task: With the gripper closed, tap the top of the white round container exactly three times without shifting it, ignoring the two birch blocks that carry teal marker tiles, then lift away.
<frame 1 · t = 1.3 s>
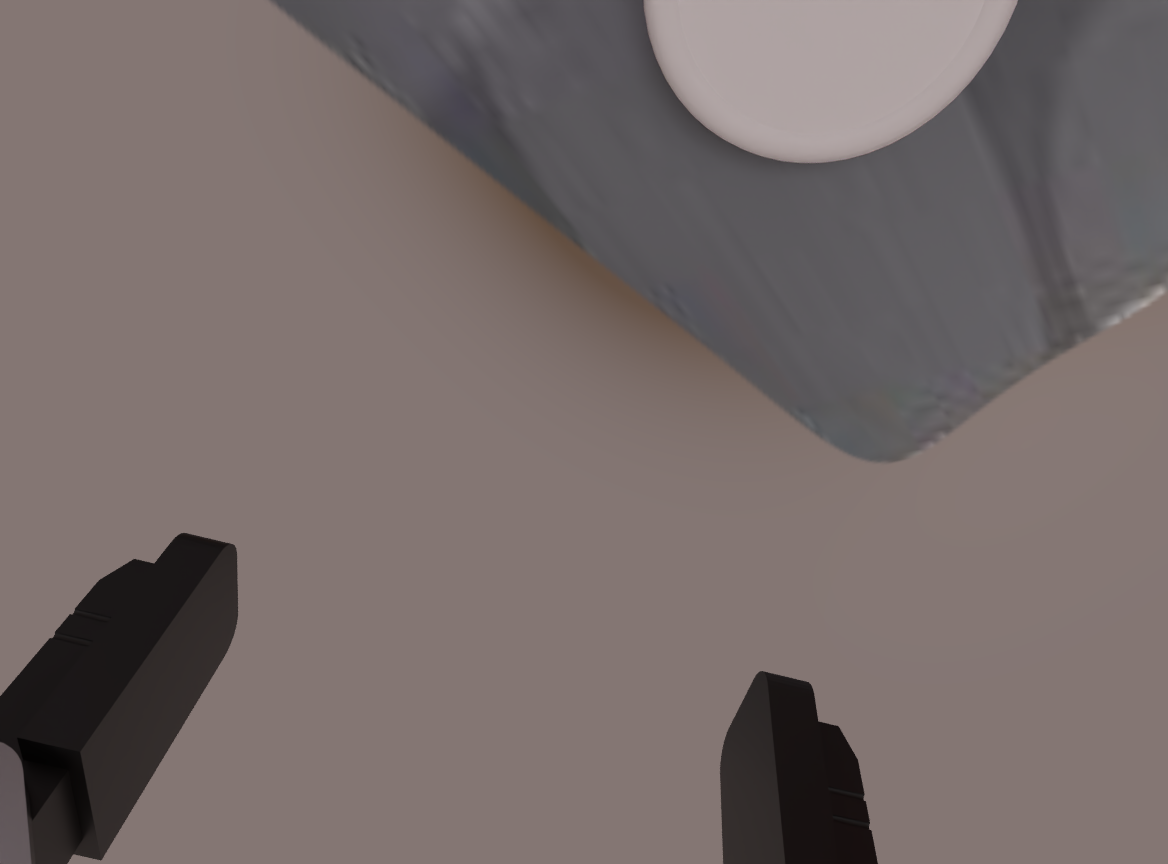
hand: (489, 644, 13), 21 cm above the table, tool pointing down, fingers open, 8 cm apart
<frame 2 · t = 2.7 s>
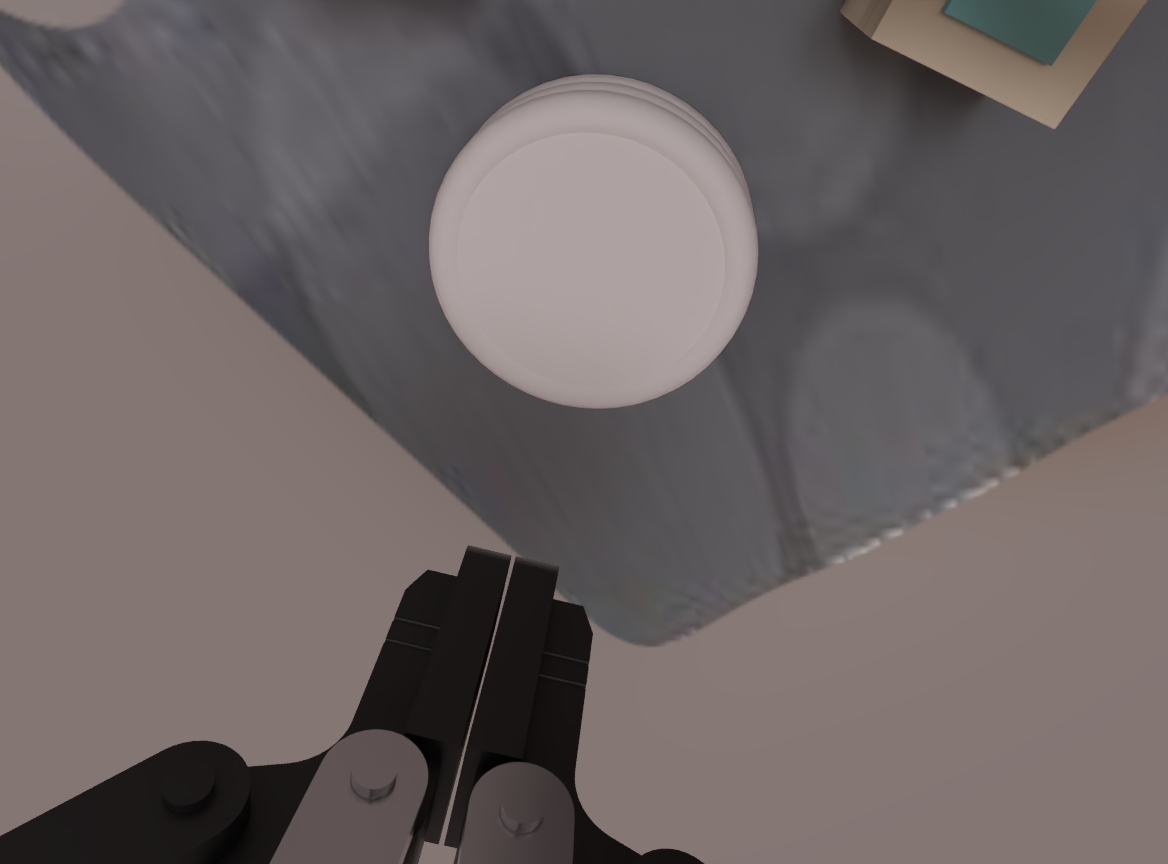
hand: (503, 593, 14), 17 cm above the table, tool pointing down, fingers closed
white round container: (599, 230, 28), on the table
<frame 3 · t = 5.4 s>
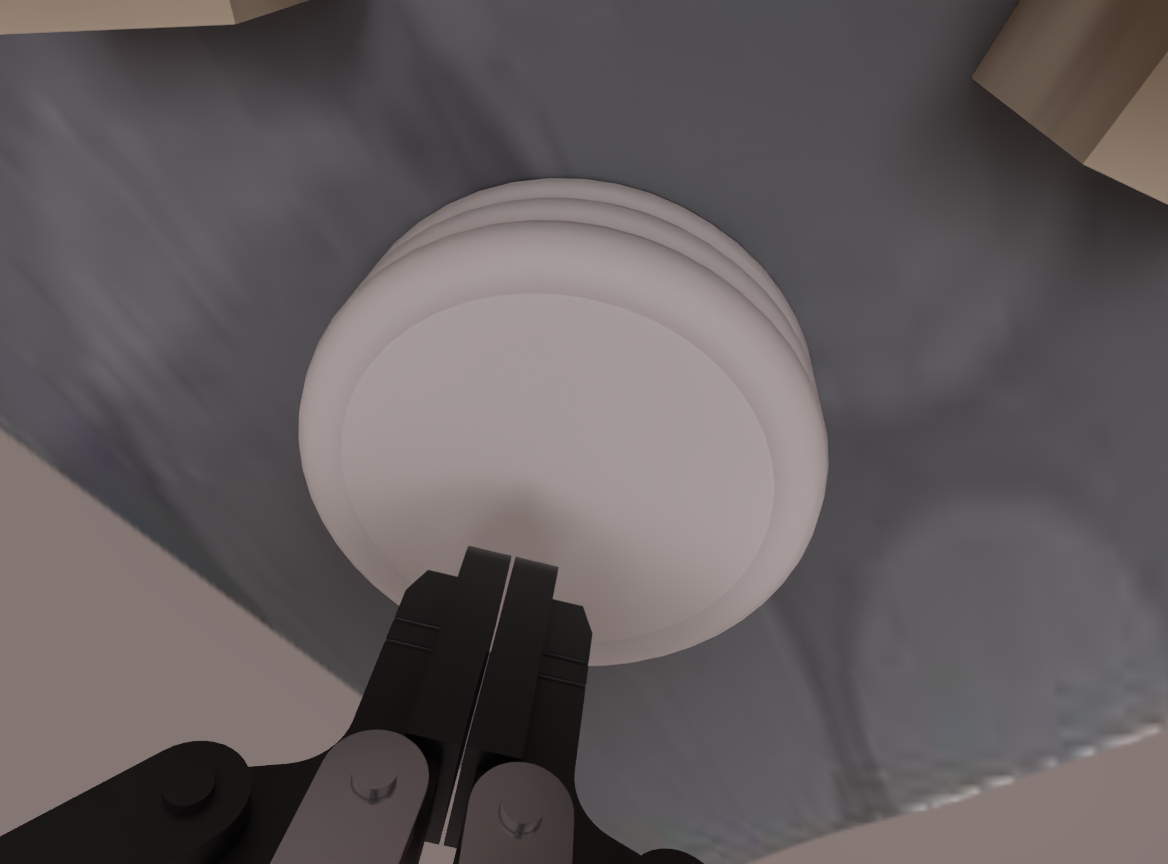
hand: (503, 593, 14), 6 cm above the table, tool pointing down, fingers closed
white round container: (576, 393, 19), on the table
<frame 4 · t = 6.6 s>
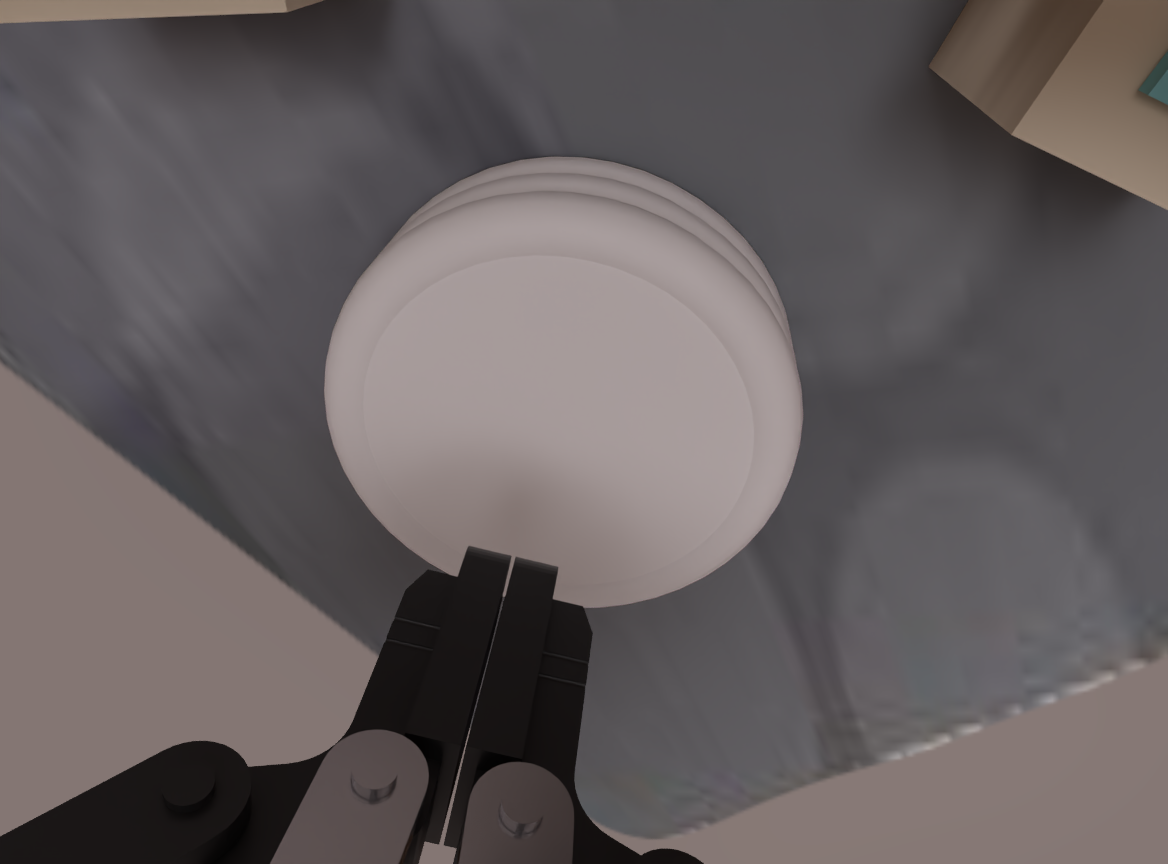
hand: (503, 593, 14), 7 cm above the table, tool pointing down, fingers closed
white round container: (575, 358, 20), on the table
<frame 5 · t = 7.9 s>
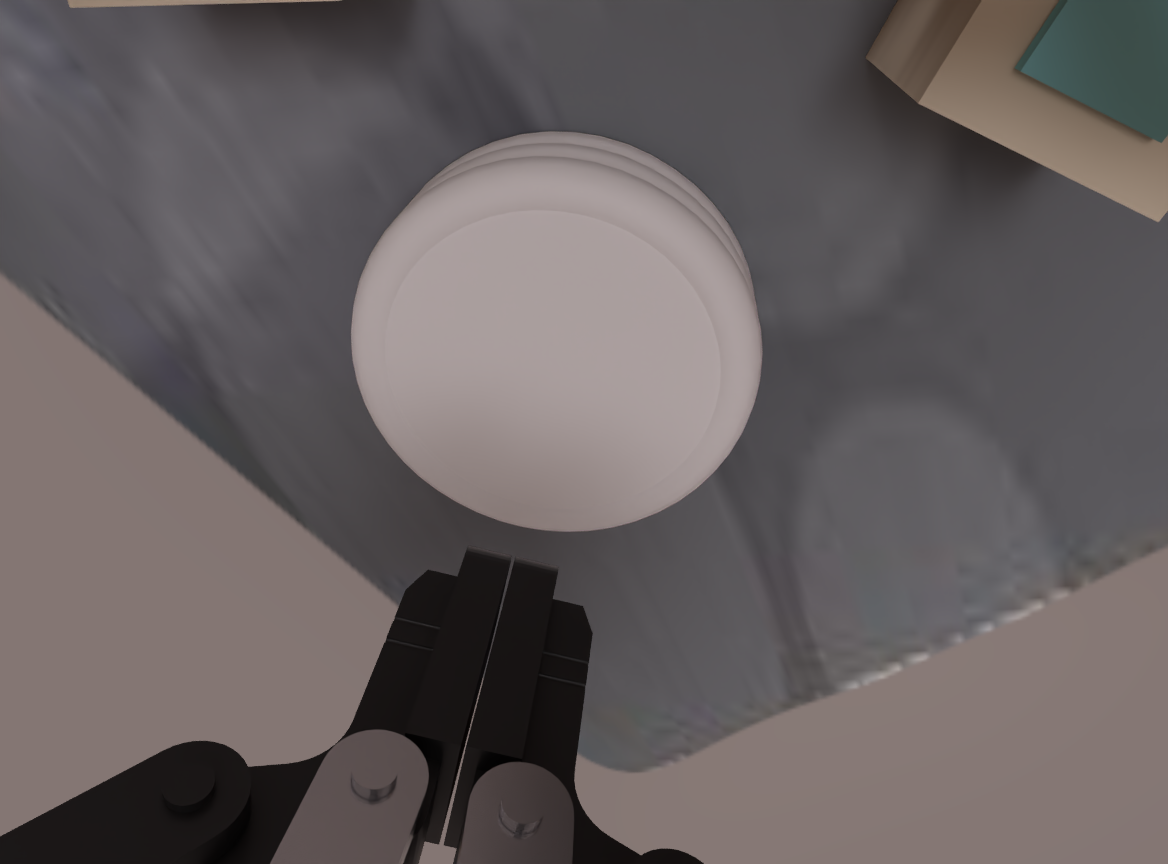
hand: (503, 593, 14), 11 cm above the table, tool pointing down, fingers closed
white round container: (567, 313, 23), on the table
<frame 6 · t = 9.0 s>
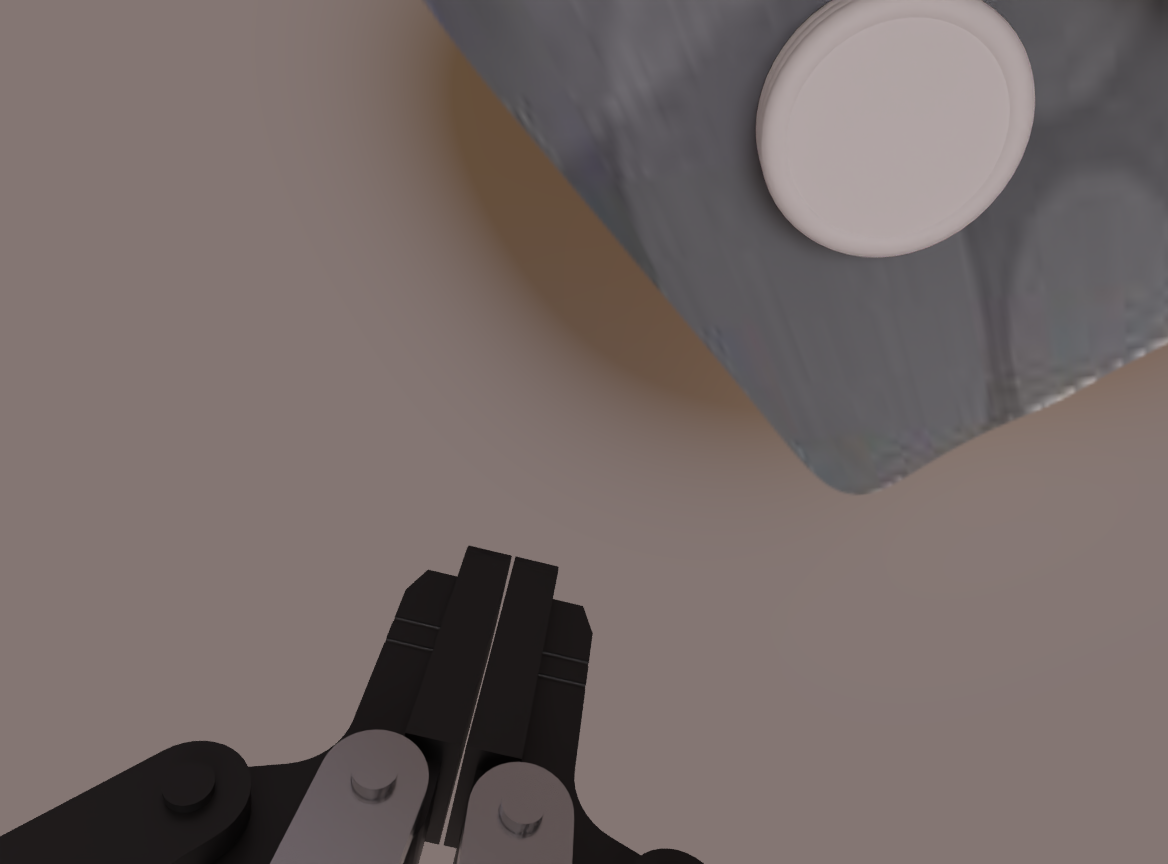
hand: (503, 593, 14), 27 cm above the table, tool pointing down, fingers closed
white round container: (877, 113, 35), on the table
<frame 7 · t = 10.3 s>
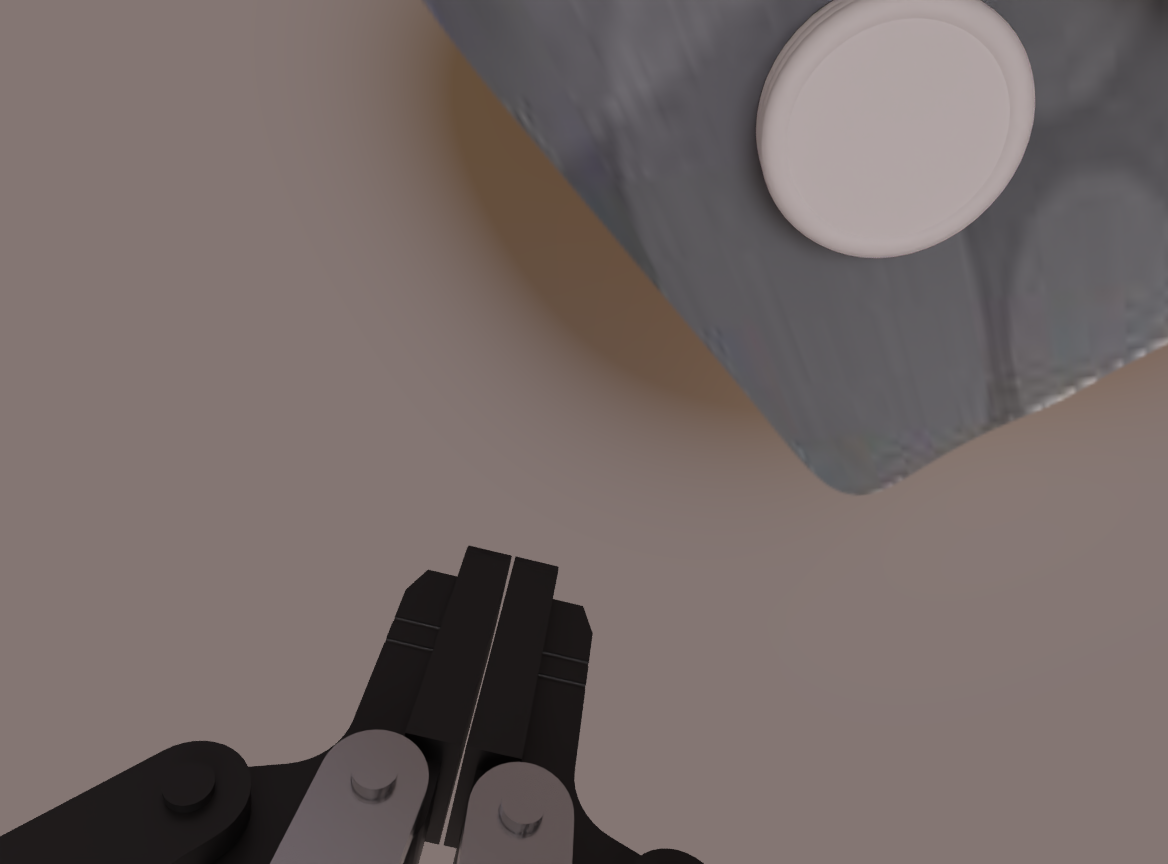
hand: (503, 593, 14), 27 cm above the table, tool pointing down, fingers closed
white round container: (878, 114, 35), on the table
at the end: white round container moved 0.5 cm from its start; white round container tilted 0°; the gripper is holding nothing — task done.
